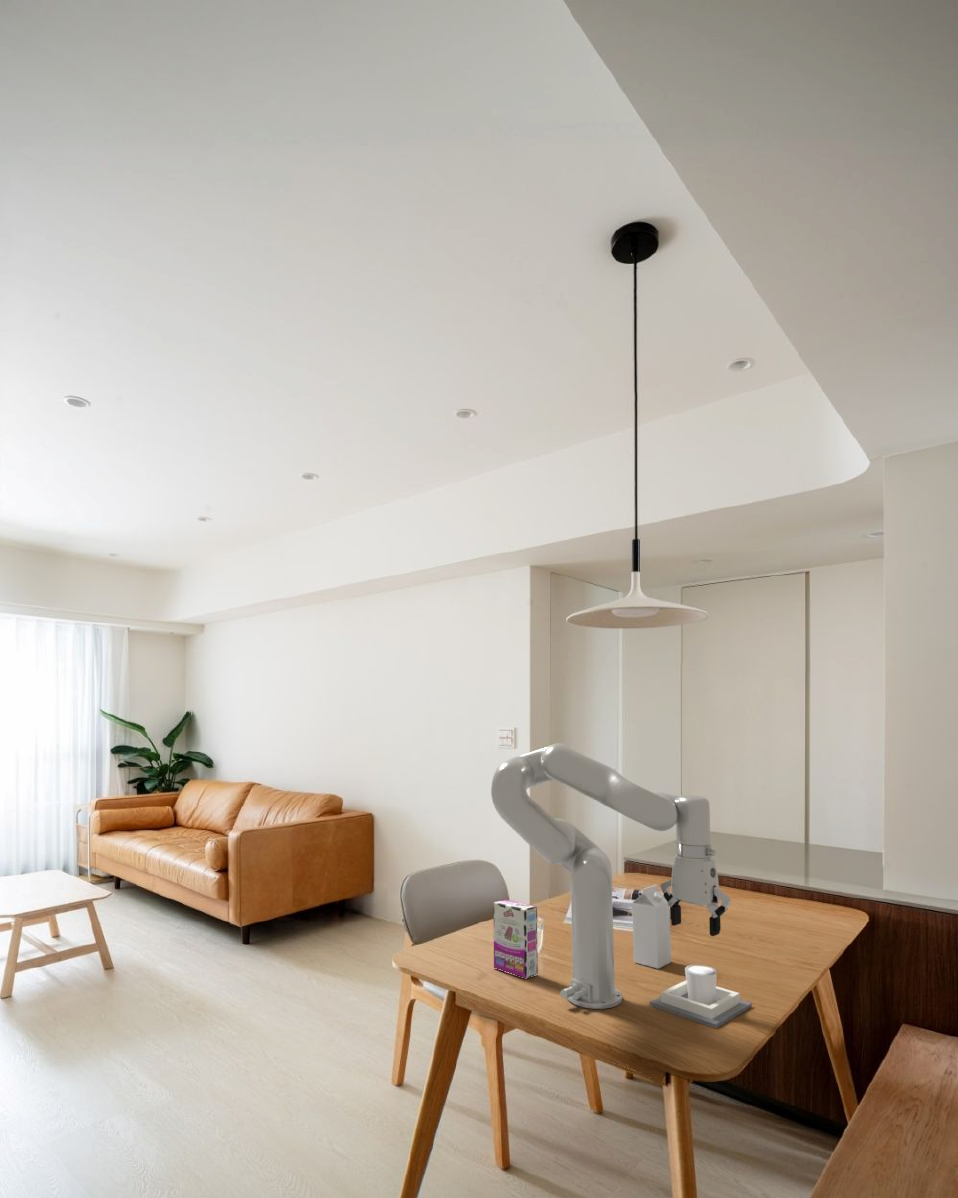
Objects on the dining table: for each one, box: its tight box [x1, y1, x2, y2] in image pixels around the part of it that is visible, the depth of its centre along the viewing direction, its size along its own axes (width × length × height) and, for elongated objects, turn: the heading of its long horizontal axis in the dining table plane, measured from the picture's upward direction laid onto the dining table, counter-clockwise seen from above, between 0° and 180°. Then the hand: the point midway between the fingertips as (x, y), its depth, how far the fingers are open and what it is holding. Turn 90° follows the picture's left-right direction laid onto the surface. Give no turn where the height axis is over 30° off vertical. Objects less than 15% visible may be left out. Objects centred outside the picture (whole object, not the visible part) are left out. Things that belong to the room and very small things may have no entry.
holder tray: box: [649, 979, 753, 1029], centre depth 160 cm, size 16×16×3 cm
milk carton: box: [631, 884, 672, 969], centre depth 189 cm, size 7×7×19 cm
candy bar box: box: [493, 899, 539, 979], centre depth 182 cm, size 11×5×16 cm, turn 46°
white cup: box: [684, 964, 718, 1006], centre depth 161 cm, size 7×7×7 cm
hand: (695, 929), depth 163 cm, fingers open, 9 cm apart
